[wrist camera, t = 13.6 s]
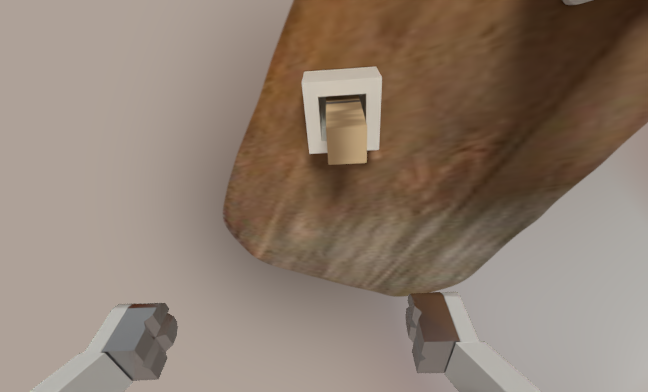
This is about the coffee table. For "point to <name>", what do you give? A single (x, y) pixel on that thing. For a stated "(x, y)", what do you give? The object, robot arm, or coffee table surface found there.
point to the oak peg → (345, 130)
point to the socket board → (336, 84)
